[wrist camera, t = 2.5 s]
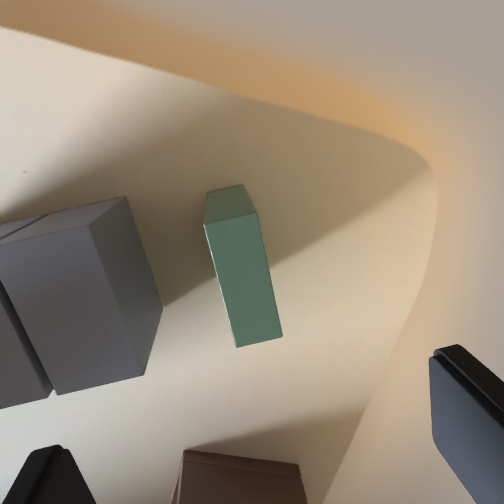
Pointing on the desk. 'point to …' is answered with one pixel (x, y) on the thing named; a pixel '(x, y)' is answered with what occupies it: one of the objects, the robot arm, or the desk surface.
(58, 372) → the grey blocks
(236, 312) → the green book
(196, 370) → the desk surface
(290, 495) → the book rack
